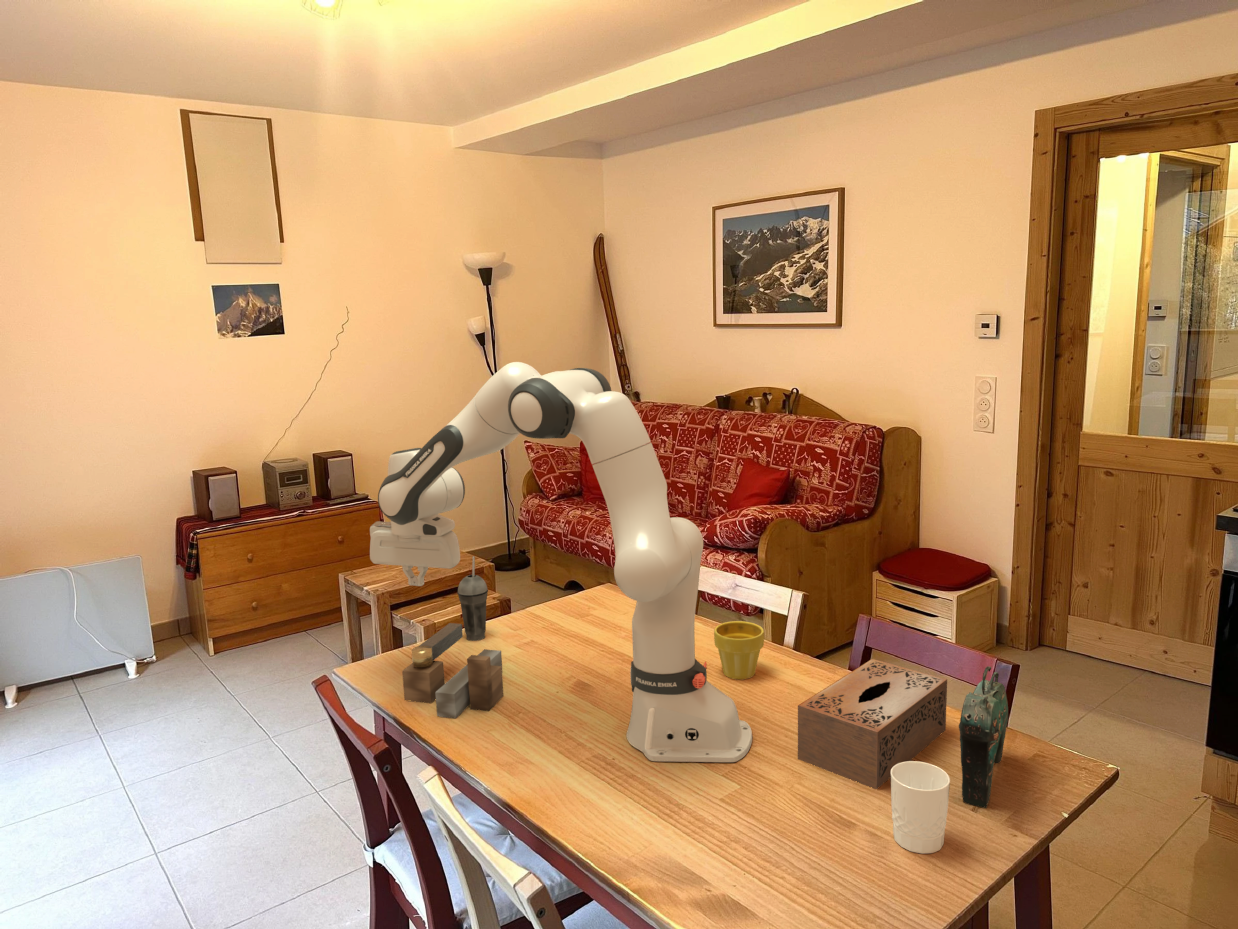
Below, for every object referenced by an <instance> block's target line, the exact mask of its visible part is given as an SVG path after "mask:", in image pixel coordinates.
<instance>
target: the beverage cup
mask: <svg viewBox="0 0 1238 929" xmlns="http://www.w3.org/2000/svg"><path fill="white" fill-rule="evenodd" d="M475 559H476V558H475V555H473V556H472V568H471V570H472V572H471V574H469V575H466V576H464V577H463V578H461V580H460V582H459V584H458V587H457V596H458V600H459V603H460V608H461V615H462V620H463V627H464V633H465V636H466V640H467V641H470V642H477V641H481V640H484V639H485V637H486V631H487V630H486V629H487V627H486V626H487V599H488V592H489V588H488V586H487V583H486V581H485V580H484V578H483V577H481V576H480V575H477V574H475V573H476V572H475V570H476V569H475V568H476V565H475V563H476V562H475V561H476V560H475Z"/></svg>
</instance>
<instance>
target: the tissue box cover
mask: <svg viewBox="0 0 1238 929" xmlns="http://www.w3.org/2000/svg"><path fill="white" fill-rule="evenodd" d="M947 693H948V679H947V678H944V677H941V676H937V675H933V674H929V673H926V672H922V671H919V670H915V669H911V668H907V667H905V666H904V667H903V666H900V665H896V664H893V663H888V662H885V661H882V660H878V659H875V658H871V659H869V660H868V661H867V662H864V663H863V664H861V665H860V666H859V667H857V668H855V669H853V670H852V671H851V672H848V673H847V674H846V675H844V676H843V677H841V678H839V679H838V680H836V681H834V682H833V683H831V684H830V685H828V686H827V687H825V688H824V689H822V690H820V691H819V692H817V693H815V694H814V695H812V696H810V697H809V698H807V699H806V700H804V701H803V702H801V703H800V704H798V705H797V760H799V761H801V762H804V763H807V764H808V765H809V764H810V765H811V764H812V766H814V765H815V766H814V767H817V768H819V769H822V770H824V769H825V770H824V771H827V772H830V773H832V772H833V774H836V775H837V774H838V775H837V776H839V777H843V778H845V779H848V780H850V779H851V781H854V782H855V781H857V782H856V783H858V782H859V783H858V784H861V785H864V786H865V787H868V786H869V788H871V787H872V789H874V790H876V789H877V790H878V789H879V788H880V787H881V786H883V783H884V784H885V783H886V782H887V781H888V780H889V779H891V769H892V767H893V766H894V765H896V764H898V763H901V762H906V761H912V760H913V759H914V758H915V757H916V756H917V755H919V754H920V753H921V752H922V751H923V750H925V748H927V747H928V746H929V745H930V744H931V743H932V742H934V741H935V740H936V739H937V738H938V737H939V736H941V735H942V734H943V733H944V732H945V731H946V730H947V729H946V728H947V726H946V725H947V702H948V701H947V699H948V694H947ZM941 733H942V734H941ZM940 734H941V735H940ZM878 787H879V788H878Z"/></svg>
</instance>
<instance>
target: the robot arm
mask: <svg viewBox="0 0 1238 929" xmlns="http://www.w3.org/2000/svg"><path fill="white" fill-rule="evenodd" d="M569 434H571V435H573V436H576V437H577V438H578V439H580V440H581V441H582V443H583V445H584V447H585V449H586V452H587V454H588V458H589V460H590V463H591V466H592V468H593V471H594V474H595V477H596V479H597V482H598V484H599V487H600V490H601V492H602V495H603V498H604V500H605V504H606V507H607V511H608V514H609V520H610V527H611V531H612V539H613V545H614V553H615V560H614V562H615V563H614V567H613V573H614V580H615V583H616V585H617V587H618V589H619V590H620V591H621V592H622V593H623V594H624V595H625V596H626V597H628V598H629V599H631V600H633V601H636V604H635V608H634V612H633V614H632V620H631V631H632V633H631V636H632V661H631V662H630V670H629V671H630V672H629V673H630V686H631V692H632V705H631V711H630V712H631V713H630V718H629V723H628V724H629V725H628V726H627V727H628V728H627V731H626V739H627V741H628V742H629V744H630V745H631V746H633V747H634V748H635V749H637V750H639V751H640V752H642V753H643V754H644V756H645V757H646V758H647V759H648V760H649V761H652V762H675V763H676V762H677V763H678V762H682V763H684V762H685V763H686V762H687V763H688V762H689V763H690V762H691V763H696V762H697V763H736V762H738V761H740V760H742V759H743V758H744V757H745V756H746V755H747V754H748V752H749V751H750V748H751V746H752V743H753V733H752V729H751V726H750V724H748V722H747V721H745V720H741V719H740V717H739V713H738V709H737V705H736V703H735V701H734V700H733V698H731V697H730V696H729V695H727V694H726V693H724V692H723V691H722V690H720V689H719V688H717V687H716V686H715V685H714V684H712V683H711V682H709V681H708V680H707V678H708V677H707V676H708V675H707V669H708V668H707V664H708V663H707V661H704V663H703V664H702V663H700V662H699V661H698V659H696V653H695V652H696V651H695V650H696V649H695V648H696V646H695V645H696V642H695V641H696V640H695V622H696V621H695V619H696V618H695V616H696V607H697V601H698V592H699V584H700V574H701V573H700V572H701V562H702V554H703V551H704V550H703V549H704V538H703V535H702V533H701V530H700V529H699V527H698V526H697V525H696V524H695V523H694V522H693V521H691V520H689V519H687V518H685V517H677V516H676V517H675V516H673V517H671V516H670V510H669V505H668V504H669V503H668V495H667V494H668V484H667V480H666V478H665V475H664V472H663V470H662V467H661V465H660V462H659V459H658V457H657V454H656V452H655V449H654V446H653V444H652V442H651V438H650V435H649V434H648V431H647V429H646V426H645V425H644V423H643V421H642V419H641V417H640V415H639V413H638V412H637V410H636V408H635V406H634V405H633V403H632V401H631V400H630V398H629V397H628V396H627V395H625V394H624V393H622V392H619V391H614V390H612V388H611V384H610V382H609V381H608V379H607V378H606V376H605V375H604V374H602V373H601V372H600V371H598V370H595V369H592V368H587V367H574V368H571V369H567V370H555V371H552V372H549V373H545V374H541V373H540V372H539V371H538V370H537V369H535V367H533V366H532V365H530V364H528V363H525V362H521V361H513V362H509V363H506V364H505V365H504V366H502V367H501V368H499V370H498V371H497V372H495V373H494V374H493V375H492V376H491V377H489V379H488V380H487V381H486V382H485V383H484V384H483V385H482V386H481V387H480V388H479V390H478V391H477V392H476V394H475V395H474V396H473V398H472V399H470V400H469V402H468V403H467V404H466V405H465V407H463V409H461V411H460V412H459V413H458V414H457V415H456V416H455V417H454V418H453V419H451V420H450V422H448V423H447V424H446V425H445V426H443V427H442V428H441V429H440V430H439V431H438V432H436V433H435V434H434V435H433V436H432V437H431V438H430V439H429V440H428V441H427V442H426V443H425V444H424V445H423V446H422V447H413V448H409V449H408V448H407V449H403V450H397V451H394V452H392V453H391V454H390V455H389V458H388V462H387V463H388V464H387V476H386V477H385V478H384V479H383V481H382V483H381V484H380V486H379V489H378V494H377V504H378V507H379V509H380V512H381V513H382V514H383V515H384V516H385V517H386V518H387V519H389V520H390V521H380V520H379V521H378V520H377V521H374V523H373V524H371V525H370V527H369V535H370V542H369V560H370V561H371V562H372V563H373V564H375V565H389V566H401V568H402V572H403V573H404V575H405V576H406V578H407V582H408V583H407V584H408V585H409V586H413V587H414V586H416V587H423V586H424V585H425V576H426V574H427V572H428V571H429V568H433V569H434V568H435V569H448V570H449V569H453V568H455V567H456V566H458V564H459V563H460V561H461V551H460V550H461V548H460V544H459V539H458V536H457V534H456V533H455V531H453V530H455V527H456V523H455V520H454V519H452V518H449V517H447V516H443V515H441V514H442V513H448V512H450V511H453V510H455V509H457V508H459V507H460V506H461V505H462V503H463V502H464V499H465V495H466V486H465V485H466V484H465V480H464V478H463V476H462V475H461V473H460V472H459V470H457V469H456V468H454V467H455V466H457V465H459V464H461V463H464V462H467V461H471V460H474V459H476V458H480V457H484V456H487V455H491V454H494V453H497V452H500V451H501V450H503V449H504V448H505V447H507V446H509V445H510V444H511V443H512V442H513V441H514V440H516V438H518V437H519V435H522V436H524V437H527V438H531V439H542V440H543V439H544V440H545V439H565V438H567V437H568V435H569ZM414 567H416V568H417V571H418V572H419V574H418V575H415V573H414V571H413V568H414Z"/></svg>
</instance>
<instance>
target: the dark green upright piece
mask: <svg viewBox="0 0 1238 929" xmlns="http://www.w3.org/2000/svg"><path fill="white" fill-rule="evenodd" d="M991 670H992V666H989V665H988V666H986V667H985V669H984V671H983V673H982V678H981V679H982V680H981V681H980V682H979V683H977V685H976V687H975V688H974V690H973V692H969V693H967V694H965V697H964V702H963V705H962V708H961V713H960V719H959V724H958V730H959V742H960V763H961V765H960V766H961V774H962V775H961V777H962V780H961V797H962V802H963V803H965V804H967V805H968V804H969V805H971V806H975V807H978V808H983V809H987V807H988V805H989V802H990V798H991V792H992V785H993V784H992V783H993V773H994V763H995V765H996V764H1000V763H1001V762H1002V758H1003V755H1004V754H1003V752H1004V746H1005V745H1004V744H1005V739H1006V733H1007V727H1008V722H1009V706H1008V705H1009V704H1008V697H1007V692H1006V687H1005V685H1004V684H1003V683H1001V682H999V672H998V671H995V672H993V674H992V676H991V678H990V680H987V674H988V672H990V671H991ZM994 679H995V680H994Z"/></svg>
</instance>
